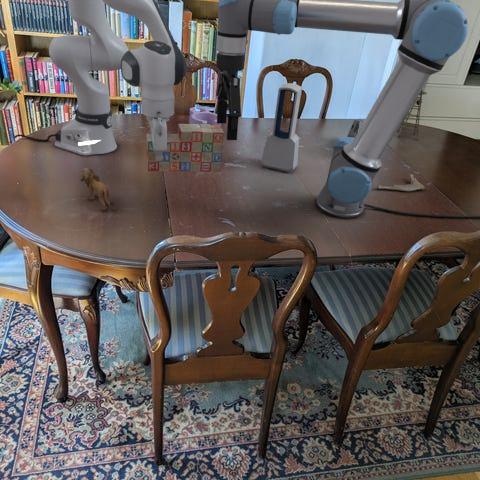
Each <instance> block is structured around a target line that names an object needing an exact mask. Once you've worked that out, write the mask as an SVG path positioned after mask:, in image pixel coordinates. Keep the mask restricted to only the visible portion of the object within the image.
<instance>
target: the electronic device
mask: <svg viewBox="0 0 480 480" xmlns="http://www.w3.org/2000/svg"><path fill="white" fill-rule="evenodd" d="M302 90H303V87H302V86H300V85H299V84H297V83H292V82H288V83H283V84H281V86H280V87H279V88H278V91H277V99H276V105H275V113H274V121H273V127H272V131H271V133H270V134H268V135H267V138H266V141H265V145H264V148H263V152H262V155H261V161H260V163H261V164H262V166H263V168H269V169H273V170H277V171H282V172H287V173H291V172H293V171H294V170H295V169H296V167H297V166H298V159H299V145H300V144H299V143H300V137H299V136H298V134H296V128H297V122H298V116H299V109H300V102H301V97H302V92H303V91H302ZM286 92H291V93H292V94H293V99H292V105H291V112H290V119H289V124H288V131H284V130H281V127H282V120H283V112H284V106H285V98H286Z"/></svg>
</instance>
